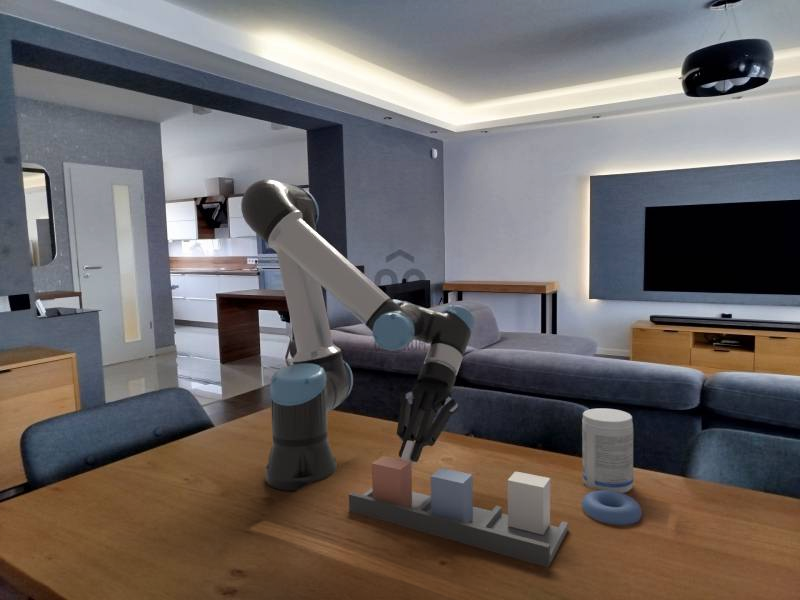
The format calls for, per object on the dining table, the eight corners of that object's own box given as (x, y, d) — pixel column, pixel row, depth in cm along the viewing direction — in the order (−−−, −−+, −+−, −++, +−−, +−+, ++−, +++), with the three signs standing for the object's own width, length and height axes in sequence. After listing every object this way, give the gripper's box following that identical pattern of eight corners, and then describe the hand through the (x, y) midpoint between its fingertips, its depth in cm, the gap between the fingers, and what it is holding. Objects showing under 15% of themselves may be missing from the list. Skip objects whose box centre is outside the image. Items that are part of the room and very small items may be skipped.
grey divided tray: (349, 518, 97) (348, 494, 97) (384, 491, 107) (384, 470, 107) (548, 576, 79) (548, 547, 78) (568, 538, 89) (568, 512, 88)
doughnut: (629, 539, 88) (629, 511, 88) (571, 522, 95) (571, 496, 95) (650, 522, 95) (650, 496, 95) (594, 507, 102) (595, 483, 102)
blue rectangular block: (431, 521, 92) (430, 476, 91) (441, 511, 95) (441, 467, 95) (463, 529, 89) (463, 483, 88) (472, 519, 92) (472, 474, 92)
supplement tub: (642, 487, 107) (644, 415, 106) (613, 500, 102) (614, 425, 100) (600, 471, 115) (601, 404, 114) (571, 482, 110) (572, 412, 108)
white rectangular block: (507, 525, 90) (507, 480, 89) (515, 515, 93) (515, 471, 93) (543, 535, 87) (543, 487, 86) (550, 524, 90) (550, 478, 90)
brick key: (372, 505, 98) (371, 463, 97) (384, 496, 102) (383, 455, 101) (401, 513, 95) (400, 469, 94) (412, 503, 98) (411, 461, 98)
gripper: (473, 383, 113) (439, 491, 100) (418, 376, 119) (380, 477, 106) (462, 363, 108) (425, 474, 95) (406, 357, 114) (364, 460, 101)
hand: (401, 475), depth 101 cm, fingers closed
